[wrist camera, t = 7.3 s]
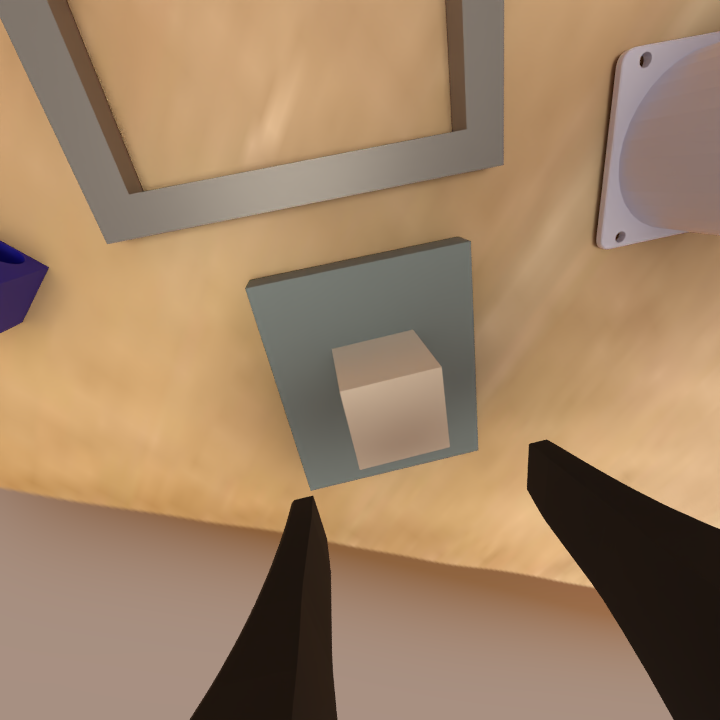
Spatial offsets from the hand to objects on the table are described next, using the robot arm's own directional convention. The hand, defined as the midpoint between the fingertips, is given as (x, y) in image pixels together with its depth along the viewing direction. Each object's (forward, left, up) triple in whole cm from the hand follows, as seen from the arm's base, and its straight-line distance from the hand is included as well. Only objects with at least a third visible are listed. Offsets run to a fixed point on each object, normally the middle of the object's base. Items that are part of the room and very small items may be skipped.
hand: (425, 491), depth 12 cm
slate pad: (0, 0, -9) cm, 9 cm away
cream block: (0, 0, -7) cm, 7 cm away
